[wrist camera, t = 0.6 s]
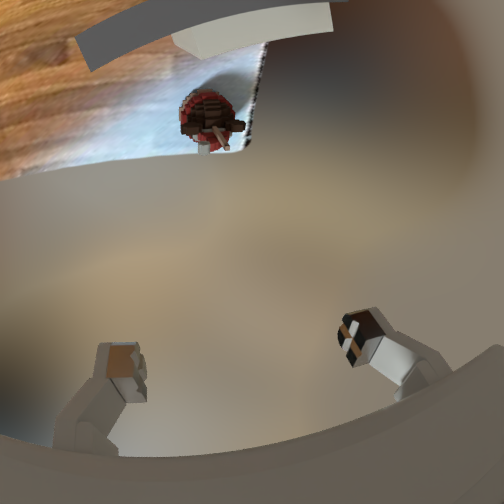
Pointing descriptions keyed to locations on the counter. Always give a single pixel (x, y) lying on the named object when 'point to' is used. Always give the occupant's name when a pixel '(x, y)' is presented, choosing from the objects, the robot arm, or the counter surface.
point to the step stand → (254, 28)
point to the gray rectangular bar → (160, 24)
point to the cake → (208, 120)
